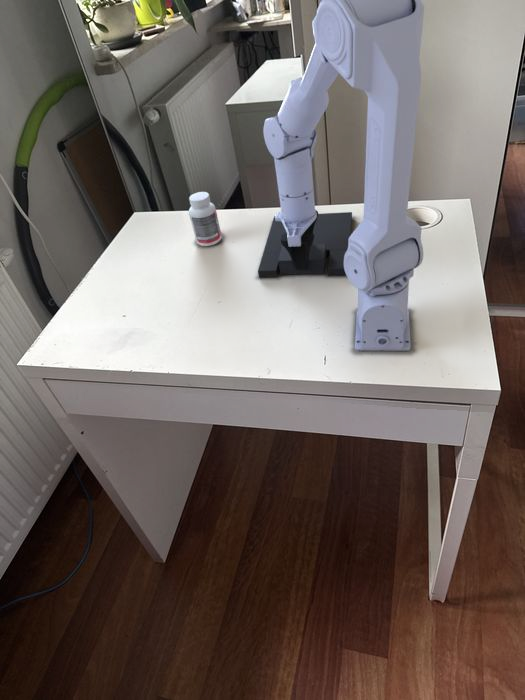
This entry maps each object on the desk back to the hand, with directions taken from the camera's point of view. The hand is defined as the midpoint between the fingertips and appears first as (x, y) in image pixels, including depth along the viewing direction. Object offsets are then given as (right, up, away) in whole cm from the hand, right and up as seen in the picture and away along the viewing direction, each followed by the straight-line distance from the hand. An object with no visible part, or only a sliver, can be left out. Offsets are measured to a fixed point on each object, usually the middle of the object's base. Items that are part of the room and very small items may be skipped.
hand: (303, 259), depth 95 cm
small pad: (0, -1, +1) cm, 1 cm away
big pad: (+1, +4, +6) cm, 7 cm away
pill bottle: (-18, +6, +14) cm, 24 cm away
